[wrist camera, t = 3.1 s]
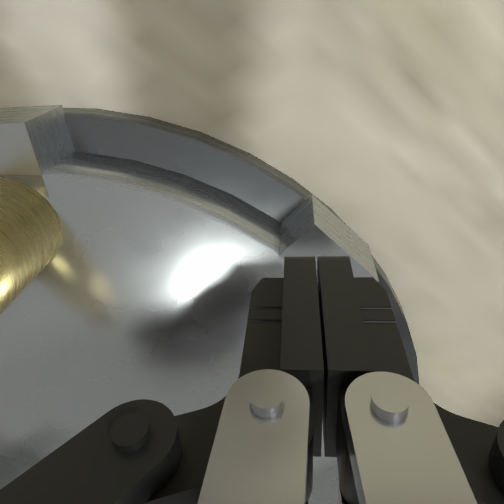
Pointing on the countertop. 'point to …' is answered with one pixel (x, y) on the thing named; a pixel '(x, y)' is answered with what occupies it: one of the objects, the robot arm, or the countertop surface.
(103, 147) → the plate
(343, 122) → the countertop surface
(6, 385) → the sprocket
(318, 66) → the countertop surface
